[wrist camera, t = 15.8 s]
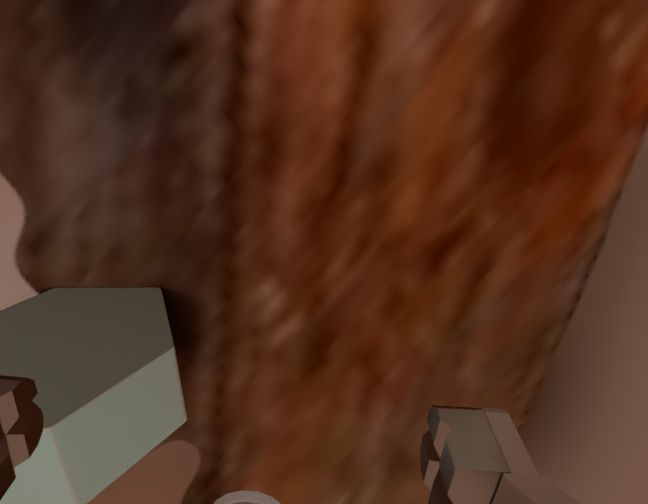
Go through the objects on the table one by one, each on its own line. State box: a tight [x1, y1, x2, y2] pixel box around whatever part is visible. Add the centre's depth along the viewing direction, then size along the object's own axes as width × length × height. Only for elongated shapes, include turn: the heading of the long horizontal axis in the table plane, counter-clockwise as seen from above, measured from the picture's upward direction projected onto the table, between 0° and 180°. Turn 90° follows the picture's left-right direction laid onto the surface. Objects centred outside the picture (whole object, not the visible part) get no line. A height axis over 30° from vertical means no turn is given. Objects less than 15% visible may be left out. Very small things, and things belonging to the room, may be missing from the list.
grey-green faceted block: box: [0, 287, 187, 504], centre depth 38 cm, size 17×8×21 cm
